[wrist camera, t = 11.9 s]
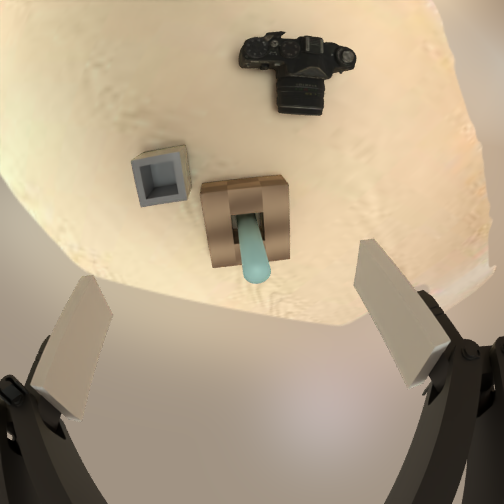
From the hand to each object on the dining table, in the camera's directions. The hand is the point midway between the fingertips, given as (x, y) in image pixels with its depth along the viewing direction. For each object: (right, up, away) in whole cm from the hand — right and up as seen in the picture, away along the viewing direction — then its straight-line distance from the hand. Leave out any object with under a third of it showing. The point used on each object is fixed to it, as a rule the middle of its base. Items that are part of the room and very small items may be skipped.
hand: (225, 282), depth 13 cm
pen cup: (-11, +14, +26) cm, 31 cm away
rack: (0, +7, +31) cm, 32 cm away
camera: (+6, +26, +21) cm, 34 cm away
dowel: (0, +7, +31) cm, 32 cm away
